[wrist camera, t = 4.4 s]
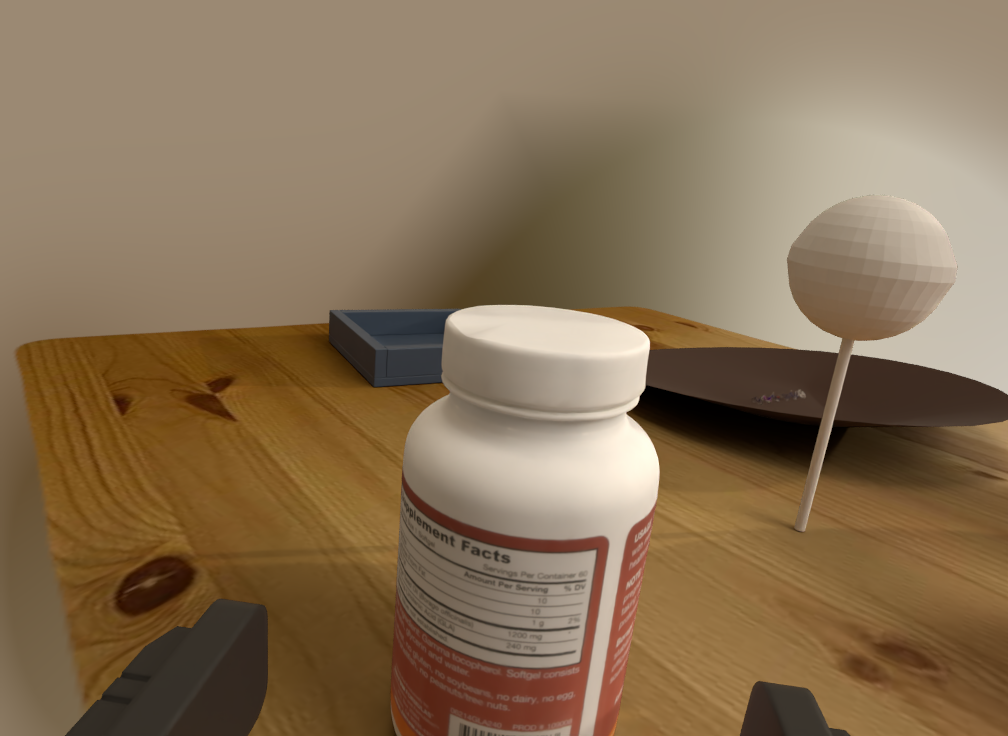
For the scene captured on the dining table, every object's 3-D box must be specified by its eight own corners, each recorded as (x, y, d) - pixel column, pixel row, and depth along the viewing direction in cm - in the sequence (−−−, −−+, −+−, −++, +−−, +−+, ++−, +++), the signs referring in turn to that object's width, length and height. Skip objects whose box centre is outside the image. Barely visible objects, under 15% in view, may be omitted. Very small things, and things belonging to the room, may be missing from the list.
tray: (373, 387, 43) (375, 349, 42) (328, 341, 52) (329, 310, 52) (523, 376, 49) (527, 343, 48) (458, 337, 58) (460, 308, 57)
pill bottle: (519, 614, 22) (559, 293, 19) (660, 744, 18) (744, 349, 14) (348, 686, 18) (363, 301, 15) (471, 875, 14) (529, 378, 11)
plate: (748, 343, 68) (756, 308, 67) (1075, 448, 45) (1094, 399, 44) (525, 358, 53) (530, 315, 52) (843, 525, 31) (863, 454, 30)
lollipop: (704, 511, 31) (773, 184, 26) (776, 488, 34) (847, 194, 30) (829, 582, 26) (937, 196, 22) (899, 547, 29) (1004, 206, 25)
